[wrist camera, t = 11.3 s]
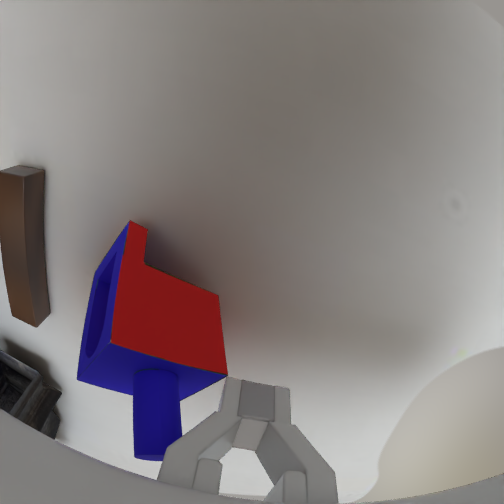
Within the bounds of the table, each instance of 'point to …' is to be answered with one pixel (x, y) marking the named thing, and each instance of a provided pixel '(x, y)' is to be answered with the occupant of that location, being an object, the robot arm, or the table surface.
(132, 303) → the toy building block
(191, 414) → the table surface
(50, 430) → the dark statue fragment
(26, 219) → the bar
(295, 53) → the table surface
